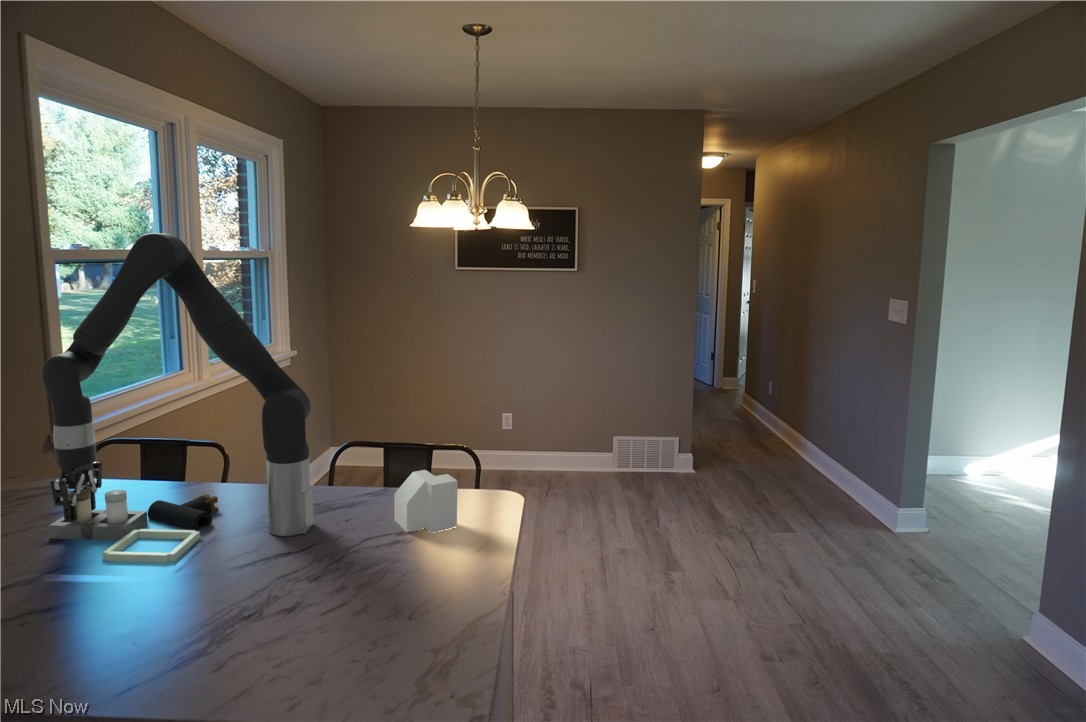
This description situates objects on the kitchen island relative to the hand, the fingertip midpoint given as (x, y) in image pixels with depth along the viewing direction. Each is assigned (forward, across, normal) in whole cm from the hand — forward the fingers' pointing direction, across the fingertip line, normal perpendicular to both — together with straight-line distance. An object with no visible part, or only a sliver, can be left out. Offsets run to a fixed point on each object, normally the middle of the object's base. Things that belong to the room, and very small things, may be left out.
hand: (80, 515), depth 153 cm
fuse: (+4, 0, -8) cm, 9 cm away
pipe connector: (+5, +9, -20) cm, 23 cm away
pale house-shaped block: (+5, +10, -75) cm, 76 cm away
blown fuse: (+4, 0, 0) cm, 4 cm away
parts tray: (+5, -8, -20) cm, 22 cm away
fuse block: (+5, 0, -4) cm, 6 cm away
